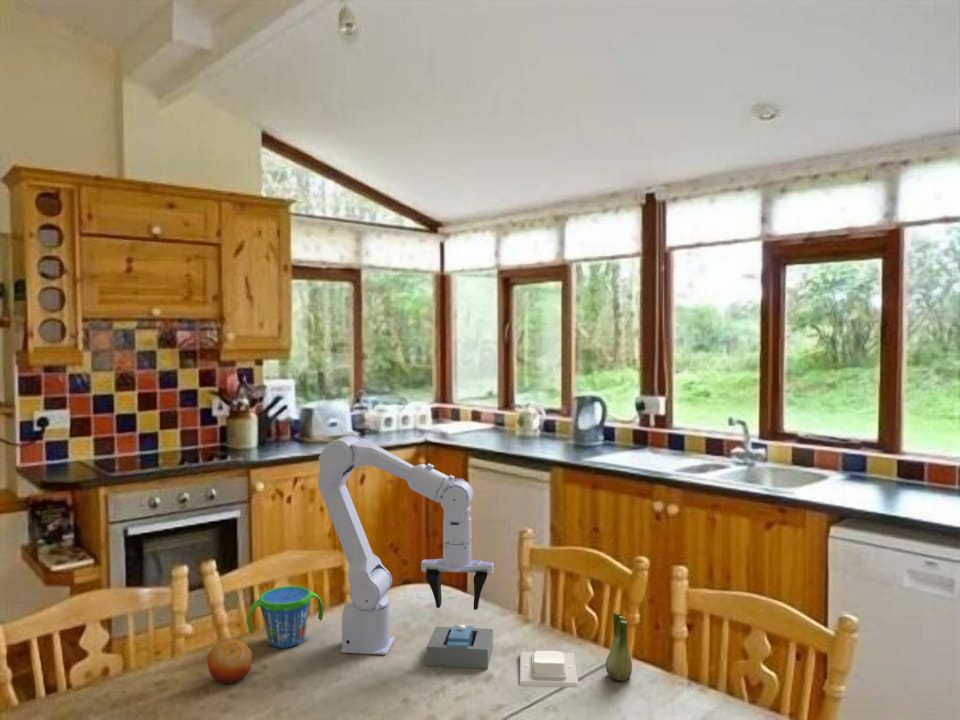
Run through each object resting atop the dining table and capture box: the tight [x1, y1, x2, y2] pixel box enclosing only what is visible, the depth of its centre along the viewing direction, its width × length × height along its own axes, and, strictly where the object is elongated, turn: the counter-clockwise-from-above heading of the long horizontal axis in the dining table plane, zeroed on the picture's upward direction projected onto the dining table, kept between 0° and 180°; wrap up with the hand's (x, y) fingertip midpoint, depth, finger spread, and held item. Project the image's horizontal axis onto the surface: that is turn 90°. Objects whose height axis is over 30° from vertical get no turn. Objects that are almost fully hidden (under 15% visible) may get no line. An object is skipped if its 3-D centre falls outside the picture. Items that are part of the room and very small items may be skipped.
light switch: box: [519, 650, 579, 688], centre depth 142 cm, size 11×4×13 cm
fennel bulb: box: [605, 610, 633, 682], centre depth 139 cm, size 6×5×12 cm
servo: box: [447, 624, 475, 648], centre depth 149 cm, size 4×10×6 cm, turn 173°
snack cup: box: [246, 585, 324, 649], centre depth 156 cm, size 16×10×10 cm
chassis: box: [426, 625, 494, 670], centre depth 149 cm, size 12×10×4 cm
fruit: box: [206, 638, 253, 685], centre depth 140 cm, size 8×8×8 cm
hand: (457, 607), depth 150 cm, fingers open, 7 cm apart
